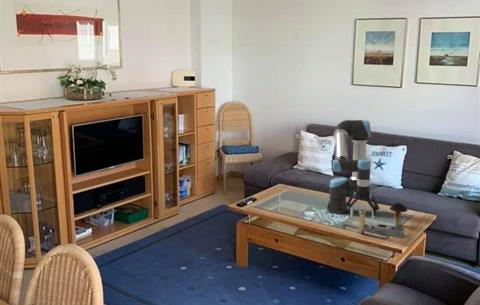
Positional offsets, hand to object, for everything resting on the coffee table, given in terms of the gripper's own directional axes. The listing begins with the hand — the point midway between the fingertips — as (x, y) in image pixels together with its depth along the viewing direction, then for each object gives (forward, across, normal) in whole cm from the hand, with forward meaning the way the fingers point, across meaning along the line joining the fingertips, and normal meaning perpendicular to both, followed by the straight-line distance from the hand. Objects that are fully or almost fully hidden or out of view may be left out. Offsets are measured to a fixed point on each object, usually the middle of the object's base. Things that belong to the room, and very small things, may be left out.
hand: (362, 218), depth 305 cm
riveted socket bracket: (+10, +10, +10) cm, 17 cm away
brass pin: (+10, 0, 0) cm, 10 cm away
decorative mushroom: (+10, +15, +26) cm, 32 cm away
